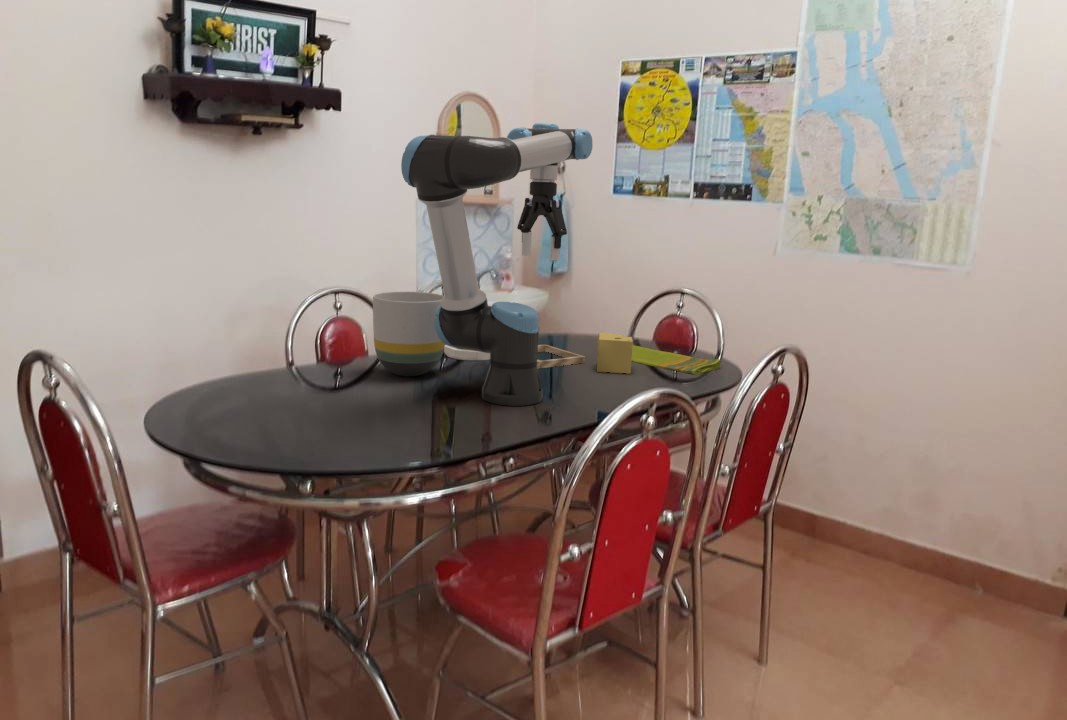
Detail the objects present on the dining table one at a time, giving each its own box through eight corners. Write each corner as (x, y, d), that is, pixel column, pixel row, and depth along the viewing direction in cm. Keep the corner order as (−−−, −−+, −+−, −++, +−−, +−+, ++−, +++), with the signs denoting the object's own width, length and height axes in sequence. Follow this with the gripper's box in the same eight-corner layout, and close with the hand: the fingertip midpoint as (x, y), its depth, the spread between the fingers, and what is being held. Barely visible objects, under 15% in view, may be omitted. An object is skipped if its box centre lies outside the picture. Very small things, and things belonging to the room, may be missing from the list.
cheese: (631, 367, 249) (633, 334, 247) (631, 375, 239) (633, 340, 237) (596, 364, 250) (598, 332, 248) (595, 372, 240) (597, 338, 238)
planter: (423, 363, 242) (424, 290, 237) (458, 378, 226) (460, 299, 222) (360, 370, 230) (360, 293, 226) (393, 385, 215) (393, 303, 210)
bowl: (463, 362, 245) (463, 353, 245) (436, 352, 258) (436, 343, 257) (508, 357, 254) (508, 348, 254) (480, 347, 267) (480, 339, 266)
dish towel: (696, 377, 242) (697, 366, 242) (596, 356, 265) (597, 346, 264) (721, 369, 254) (722, 359, 253) (624, 350, 276) (624, 340, 275)
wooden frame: (536, 368, 241) (536, 362, 241) (498, 355, 257) (498, 349, 257) (584, 363, 252) (585, 356, 251) (545, 350, 267) (545, 344, 267)
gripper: (582, 183, 224) (578, 262, 229) (528, 180, 244) (525, 253, 249) (560, 182, 220) (556, 262, 225) (507, 179, 240) (504, 253, 244)
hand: (540, 258), depth 237 cm, fingers open, 13 cm apart
